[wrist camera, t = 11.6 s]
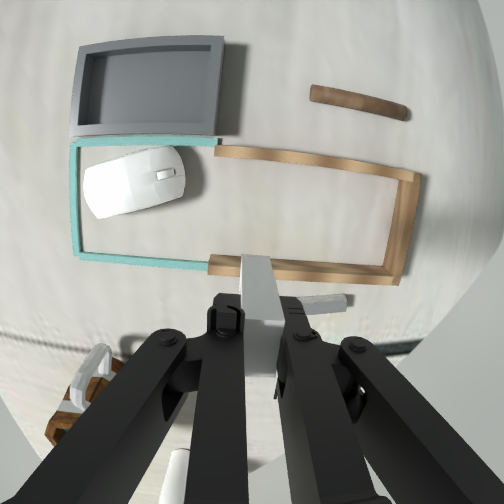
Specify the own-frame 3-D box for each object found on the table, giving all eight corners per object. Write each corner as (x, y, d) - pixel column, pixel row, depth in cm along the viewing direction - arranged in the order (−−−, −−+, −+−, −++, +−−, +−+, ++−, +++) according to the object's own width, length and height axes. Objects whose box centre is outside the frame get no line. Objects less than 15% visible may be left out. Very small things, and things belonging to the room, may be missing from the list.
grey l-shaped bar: (228, 342, 43) (227, 350, 41) (224, 301, 40) (223, 307, 39) (339, 334, 43) (342, 341, 41) (343, 293, 41) (347, 299, 39)
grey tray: (80, 136, 32) (68, 136, 30) (89, 52, 29) (79, 46, 26) (215, 135, 33) (213, 134, 31) (225, 44, 30) (223, 35, 27)
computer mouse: (192, 194, 36) (182, 204, 30) (97, 217, 36) (74, 230, 30) (181, 141, 34) (168, 140, 28) (85, 169, 34) (60, 174, 28)
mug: (149, 418, 48) (132, 484, 34) (82, 398, 47) (53, 456, 33) (154, 337, 42) (125, 412, 28) (72, 313, 41) (23, 374, 26)
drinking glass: (162, 454, 52) (152, 512, 38) (175, 442, 51) (165, 504, 36) (191, 465, 54) (185, 522, 40) (206, 453, 52) (201, 515, 38)
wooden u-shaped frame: (210, 263, 38) (207, 274, 35) (217, 145, 34) (214, 144, 30) (388, 274, 40) (398, 285, 37) (408, 170, 35) (421, 173, 32)
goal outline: (75, 257, 38) (74, 259, 37) (71, 139, 32) (70, 139, 32) (210, 269, 39) (209, 271, 38) (218, 138, 33) (217, 138, 33)
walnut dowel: (313, 98, 31) (313, 82, 30) (309, 102, 32) (309, 87, 32) (407, 118, 31) (407, 103, 31) (399, 121, 33) (399, 107, 33)
